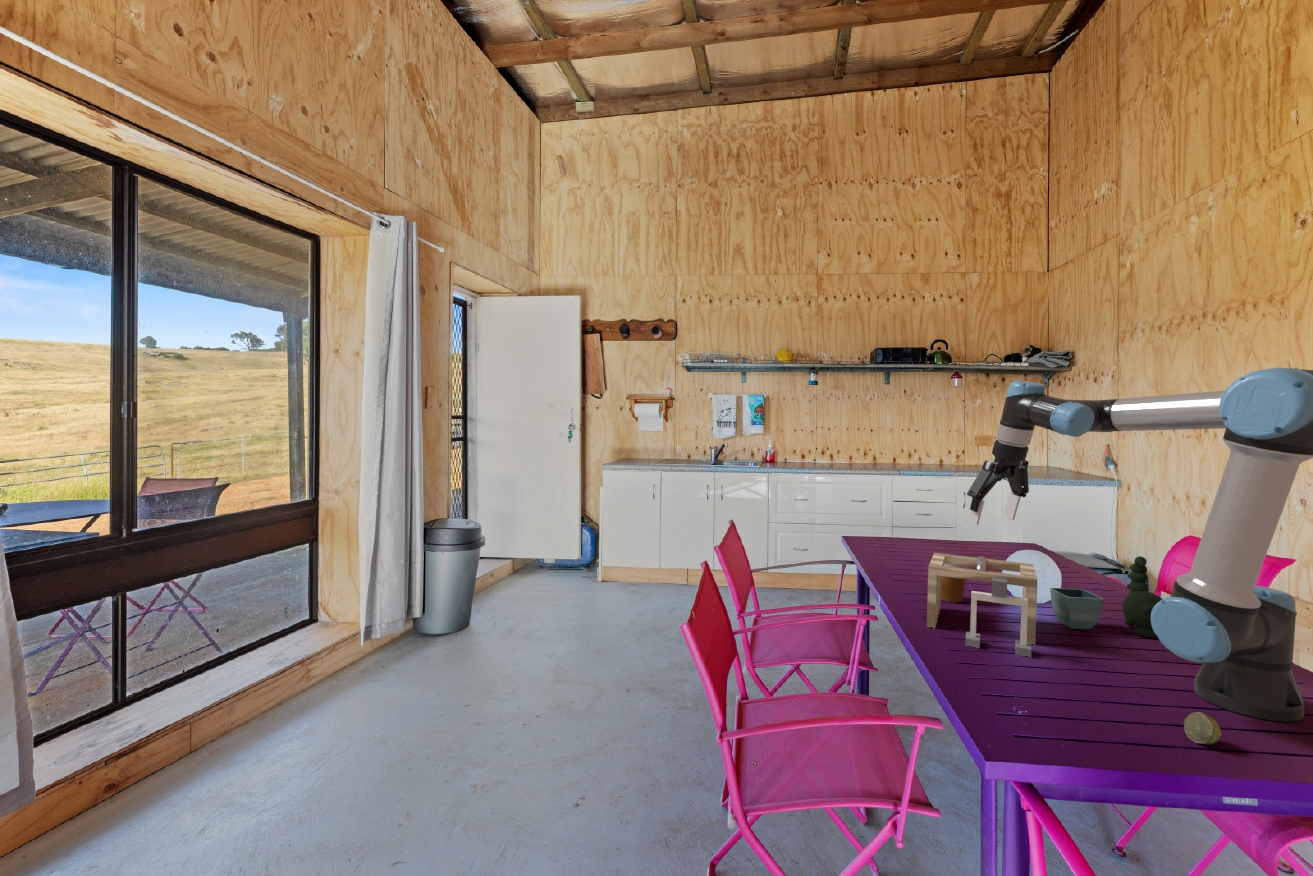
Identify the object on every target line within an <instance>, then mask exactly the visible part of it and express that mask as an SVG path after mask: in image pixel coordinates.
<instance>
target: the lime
mask: <svg viewBox="0 0 1313 876" xmlns="http://www.w3.org/2000/svg"><path fill="white" fill-rule="evenodd" d="M1183 730H1184V732H1185V734H1186V736H1187V738H1188V739H1189V740H1190V741H1191V742H1194V744H1195V743H1196V744H1201V745H1213V744H1216V743H1218V741H1220V739H1221V737H1222V730H1221V728H1220V725H1219V723H1218V722H1217V721H1216V720H1215V718H1213V717H1212V716H1210V715H1209V714H1207V713H1206V712H1202V711H1196V712H1191V713H1189V715H1187V717H1185V719H1184V724H1183Z"/></svg>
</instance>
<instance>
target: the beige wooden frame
mask: <svg viewBox="0 0 1313 876" xmlns="http://www.w3.org/2000/svg"><path fill="white" fill-rule="evenodd" d="M945 563H946V564H955V565H963V566H969V567H973V568H976V569H973V568H968V569H966V568H958V567H949V566H944V564H945ZM986 569H992V570H997V571H990V570H986ZM998 570H999V571H1007V572H1014V573H1015V572H1016V573H1020V574H1014V573H1007V572H998ZM1036 573H1037V572H1036V569H1035V566H1034V564H1033V563H1029V562H1020V561H1011V560H1010V561H1009V560H1002V559H1001V560H1000V559H993V558H986V557H985V556H983V555H980V556H977V557H974V556H965V555H957V554H956V555H955V554H949V553H939V552H937V553H936V552H934V553H933V555H932V557H931V560H930V562H929V564H928V569H927V601H926V602H927V605H926V606H927V607H926V610H927V611H926V627H927V628H930V627H933V628H932V629H936V627H937V623H938V620H937V619H939V616H938V615H940V612H939V611H941V604H942V603H941V601H942V600H941V576H946V577H954V578H962V579H966V580H972V581H978V582H988V583H992V578H999V579H1007V585H1011V586H1018V587H1022V590H1023V591H1022V598H1028V615H1027V642H1030V644H1034V645H1033V646H1036V632H1037V609H1038V608H1037V605H1038V602H1037V601H1038V581H1039V579H1038V577H1037V574H1036Z"/></svg>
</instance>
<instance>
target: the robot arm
mask: <svg viewBox="0 0 1313 876" xmlns="http://www.w3.org/2000/svg"><path fill="white" fill-rule="evenodd" d="M1004 401H1005V402H1004V404H1003V405H1004V406H1003V409H1002V413H1001V418H1000V421H999V424H998V429H997V432H996V436H995V438H996V440H994V443H993V446H992V450H991V454H992V455H993V456H994V459H993V461H989V460H985V461H984V462H983V464H982V467H981V469H980V471H979V472H978V474H977V476H976V478H975V479H974V481H973V482H972V484H971V486H970V487H969V489H968V490H967V492H966V495H967V496H968V497H971V499H972V500H971V502H970V507H969V511H968V512H969V513H968V516H967V521H966V522H970V523H971V524H974V525H976V526H978V525H979V524H980V521H981V520H980V519H981V517H982V512H983V508H984V505H985V500H984V498H985V497H986V496H987V495H988V494H989V492H990V491H991V490H992V489H993V488H994V486H995V485H996V484H997V483H998V482H1000V481H1001V482H1002V480H1005V479H1007V482H1008V484H1009V487H1010V490H1011V493H1008V497H1007V500H1006V503H1005V507H1004V509H1003V510H1004V511H1003V513H1002V514H1003V515H1002V516H1003V517H1005V518H1006V519H1009V520H1011V521H1014V520H1015V518H1016V515H1017V511H1018V507H1019V505H1020V501H1021V497H1022V498H1025V497H1027V494H1028V493H1029V492H1030V491H1029V490H1030V487H1029V486H1030V485H1029V473H1028V472H1029V471H1028V467H1029V463H1030V462H1029V460H1026V459H1027V455H1028V453H1029V447H1028V446H1030V445H1031V443H1032V438H1033V433H1034V432H1035V431H1034V430H1035V426H1036V427H1039V428H1042V429H1046V430H1049V431H1052V432H1055V433H1056V434H1057V433H1058V434H1059V435H1062V436H1069V437H1074V438H1077V437H1081V436H1083V435H1084V434H1086V433H1089V432H1091V433H1113V432H1130V431H1131V432H1132V431H1133V432H1134V431H1135V432H1136V431H1138V432H1139V431H1174V430H1175V431H1176V430H1177V431H1178V430H1180V431H1181V430H1215V429H1217V430H1220V429H1222V430H1223V429H1225V430H1224V434H1223V437H1222V441H1223V442H1224V443H1225V445H1227V447H1228V448H1229V450H1230V452H1229V456H1228V459H1227V462H1226V463H1225V464H1226V465H1225V468H1224V469H1223V473H1222V476H1221V479H1220V483H1219V485H1218V488H1217V491H1216V494H1215V496H1214V500H1213V503H1212V506H1211V509H1210V511H1209V515H1208V517H1207V520H1206V523H1205V527H1204V529H1203V532H1202V535H1201V539H1200V541H1199V544H1198V547H1197V550H1196V552H1195V553H1196V554H1195V556H1194V558H1193V562H1192V565H1191V568H1190V571H1188V572H1187V573H1184V574H1181V575H1178V576H1177V577H1176V578H1175V582H1174V583H1173V586H1172V587H1173V588H1172V590H1171V594H1170V595H1169V596H1168V597H1165V598H1162V600H1161V601H1160V602H1158V603H1157V604H1156V605H1155V606H1154V607H1153V609H1152V612H1151V625H1152V628H1153V630H1154V633H1155V634H1157V635H1156V637H1157V638H1158V639H1159V642H1160V643H1161V644H1162V645H1163V646H1164V648H1166V649H1167V650H1168V651H1170V652H1172V653H1173V654H1174V655H1175V656H1178V657H1180V658H1182V659H1184V660H1187V661H1189V662H1194V663H1202V665H1201V666H1200V667H1199V671H1198V672H1197V674H1195V675H1196V676H1195V677H1194V684H1193V685H1194V688H1193V691H1194V693H1195V694H1196V695H1198V696H1199V697H1200V698H1201V699H1202V700H1204V701H1207V702H1209V703H1210V704H1213V705H1215V706H1217V707H1220V708H1222V709H1225V710H1228V711H1231V712H1234V713H1238V714H1240V715H1244V716H1248V717H1252V718H1257V719H1262V720H1268V721H1274V722H1284V723H1286V722H1292V723H1293V722H1299V721H1302V720H1303V719H1304V718H1305V704H1304V700H1303V698H1302V697H1303V696H1301V695H1302V694H1301V692H1300V690H1299V686H1298V685H1297V682H1296V680H1295V676H1294V674H1293V665H1294V664H1293V662H1294V651H1295V650H1294V647H1295V634H1296V633H1295V632H1296V631H1295V630H1296V617H1297V615H1298V611H1296V600H1295V598H1294V596H1293V595H1291V594H1290V593H1288V592H1286V591H1282V590H1279V589H1276V588H1275V589H1274V588H1269V587H1266V586H1261V585H1257V582H1258V579H1259V575H1260V572H1261V570H1262V568H1263V564H1264V562H1265V559H1266V556H1267V554H1268V551H1269V549H1270V546H1271V543H1272V540H1273V537H1274V535H1275V532H1276V529H1277V527H1278V524H1279V522H1280V519H1281V516H1282V514H1283V511H1284V508H1285V505H1286V503H1287V500H1288V497H1289V494H1290V493H1291V488H1292V487H1293V483H1294V481H1295V479H1296V476H1297V473H1298V470H1299V467H1300V465H1301V464H1302V463H1304V462H1306V461H1309V460H1311V459H1313V369H1303V368H1302V369H1301V368H1294V367H1273V368H1265V369H1258V370H1255V371H1252V372H1249V373H1247V374H1244V375H1243V376H1240V377H1238V378H1237V379H1235V380H1234V381H1233V382H1232V383H1230V385H1229V386H1227V388H1226V389H1225V390H1219V391H1206V392H1205V391H1204V392H1192V393H1190V392H1189V393H1179V394H1166V395H1155V396H1154V395H1152V396H1137V397H1127V398H1125V397H1124V398H1113V399H1112V398H1111V399H1098V400H1097V399H1091V400H1090V399H1089V400H1088V399H1066V398H1065V399H1064V398H1059V397H1056V396H1055V397H1054V396H1050V395H1047V394H1046V386H1045V385H1044V384H1042V383H1039V382H1035V381H1027V380H1014V381H1012V382H1011V383H1010V385H1009V387H1008V390H1007V393H1006V395H1005V399H1004Z"/></svg>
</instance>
